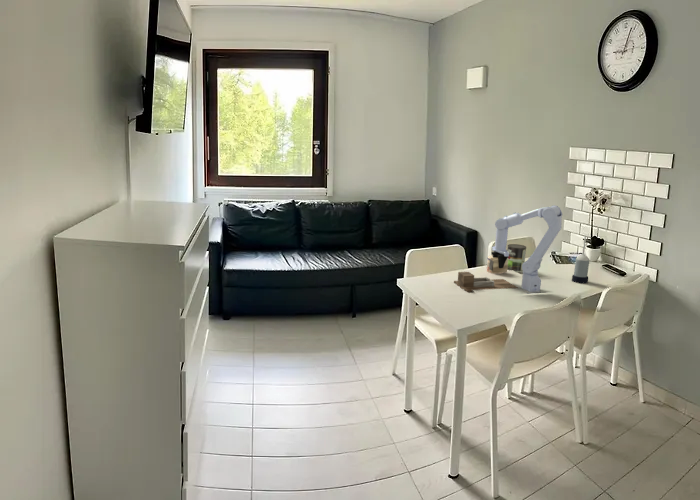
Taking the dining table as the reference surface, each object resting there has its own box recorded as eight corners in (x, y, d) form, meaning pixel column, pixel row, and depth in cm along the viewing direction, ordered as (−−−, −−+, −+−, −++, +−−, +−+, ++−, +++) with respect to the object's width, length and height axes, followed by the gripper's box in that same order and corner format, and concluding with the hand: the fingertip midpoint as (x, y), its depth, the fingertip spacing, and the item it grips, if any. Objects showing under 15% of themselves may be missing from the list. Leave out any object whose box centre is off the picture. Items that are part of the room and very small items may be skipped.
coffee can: (513, 273, 305) (516, 248, 302) (501, 268, 314) (503, 244, 311) (527, 271, 309) (530, 247, 306) (515, 267, 318) (517, 243, 315)
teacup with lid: (482, 272, 304) (484, 252, 301) (493, 270, 309) (495, 250, 306) (499, 277, 294) (501, 256, 292) (510, 275, 300) (512, 255, 297)
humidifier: (579, 278, 297) (585, 233, 292) (591, 282, 290) (597, 237, 284) (568, 279, 294) (573, 234, 289) (579, 284, 287) (585, 237, 281)
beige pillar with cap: (507, 272, 281) (508, 259, 279) (492, 272, 279) (493, 259, 278) (503, 270, 285) (504, 257, 283) (488, 270, 283) (489, 257, 281)
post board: (518, 289, 273) (519, 276, 272) (466, 292, 267) (468, 278, 266) (502, 280, 289) (504, 268, 287) (453, 282, 282) (454, 269, 281)
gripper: (487, 238, 284) (485, 263, 287) (500, 244, 271) (498, 270, 274) (499, 238, 286) (497, 263, 289) (513, 244, 272) (511, 270, 275)
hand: (498, 266), depth 281 cm, fingers closed on beige pillar with cap, 4 cm apart
